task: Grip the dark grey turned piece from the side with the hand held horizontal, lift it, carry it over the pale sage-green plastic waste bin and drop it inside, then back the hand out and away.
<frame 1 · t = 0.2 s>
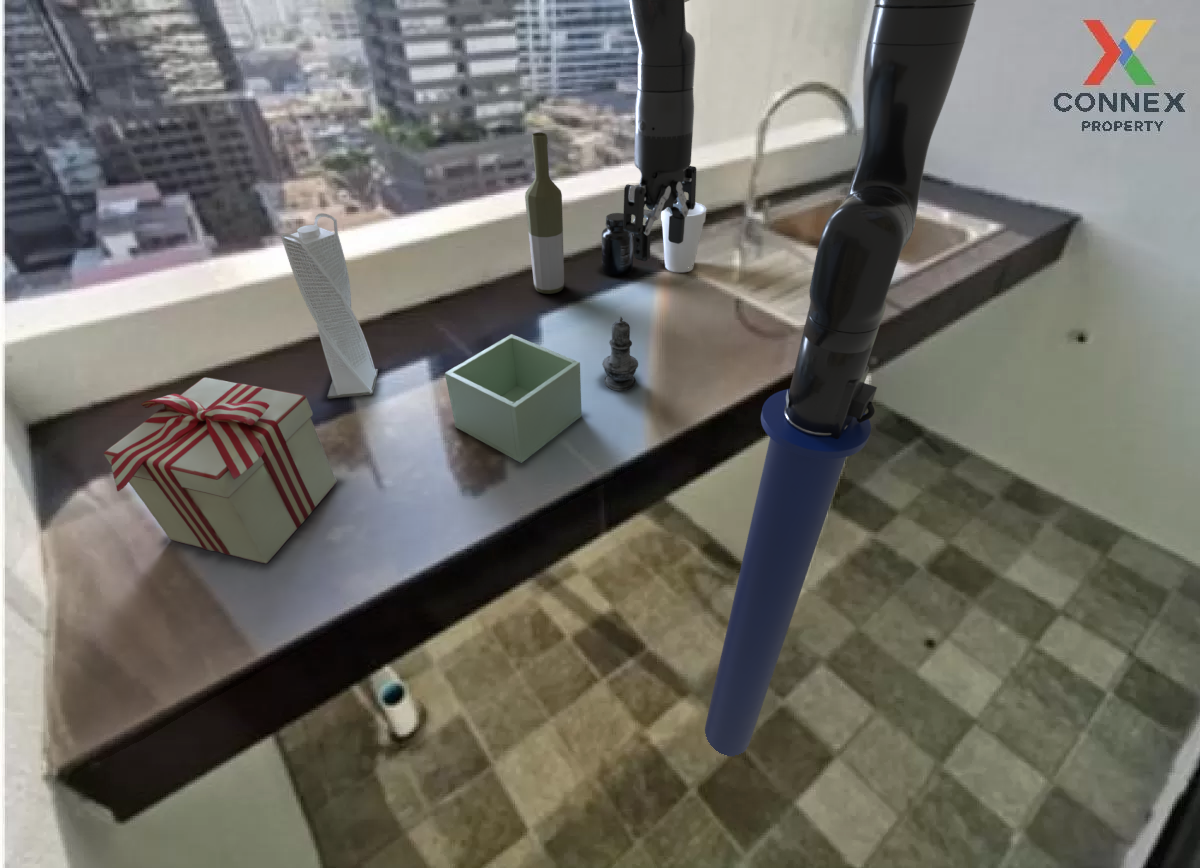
hand: (659, 250, 88), 22 cm above the worktop, tool pointing down, fingers open, 8 cm apart
waste bin: (519, 421, 92), on the worktop
skyscraper: (358, 386, 100), on the worktop
bottle: (549, 290, 127), on the worktop
gift box: (256, 520, 77), on the worktop
foam cup: (679, 267, 136), on the worktop
dark grey turned piece: (619, 382, 100), on the worktop
supplement bottle: (617, 271, 134), on the worktop
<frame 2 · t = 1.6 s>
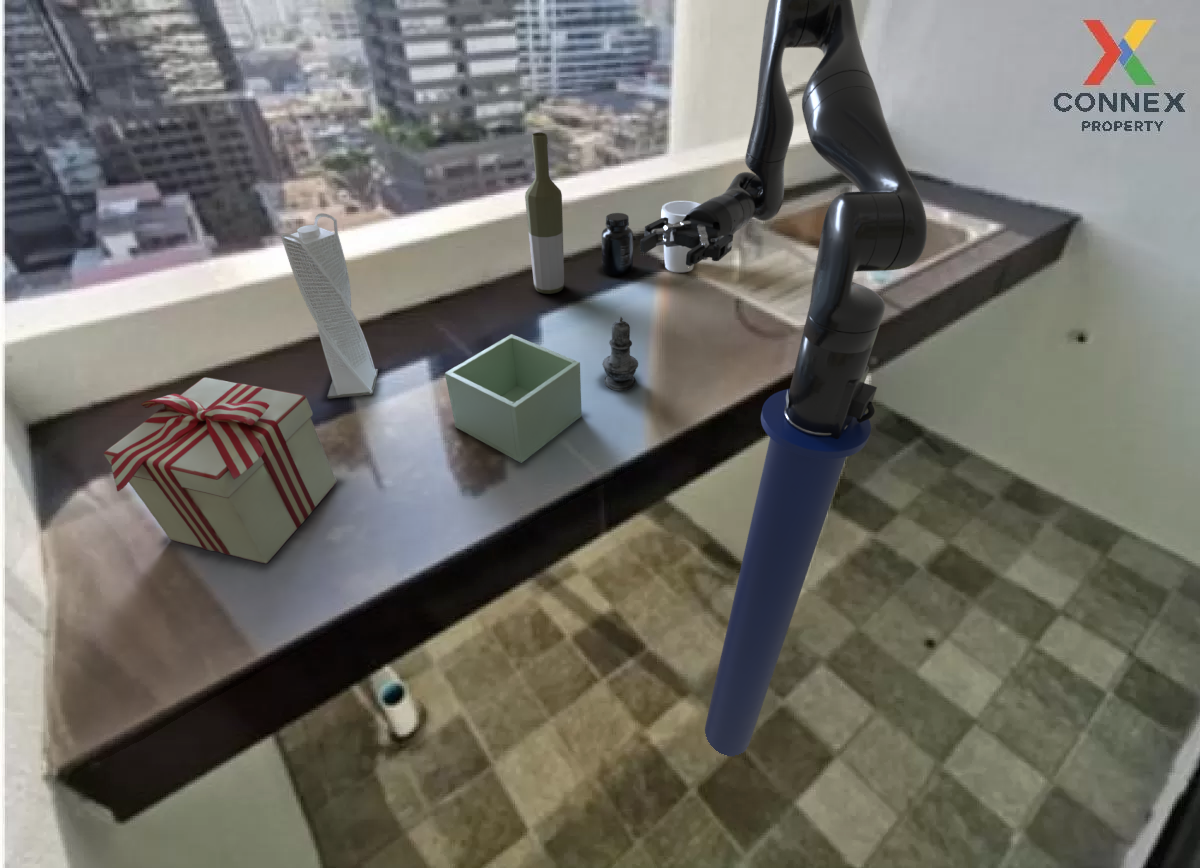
hand: (664, 253, 96), 18 cm above the worktop, tool horizontal, fingers open, 8 cm apart
nothing on the worktop moved.
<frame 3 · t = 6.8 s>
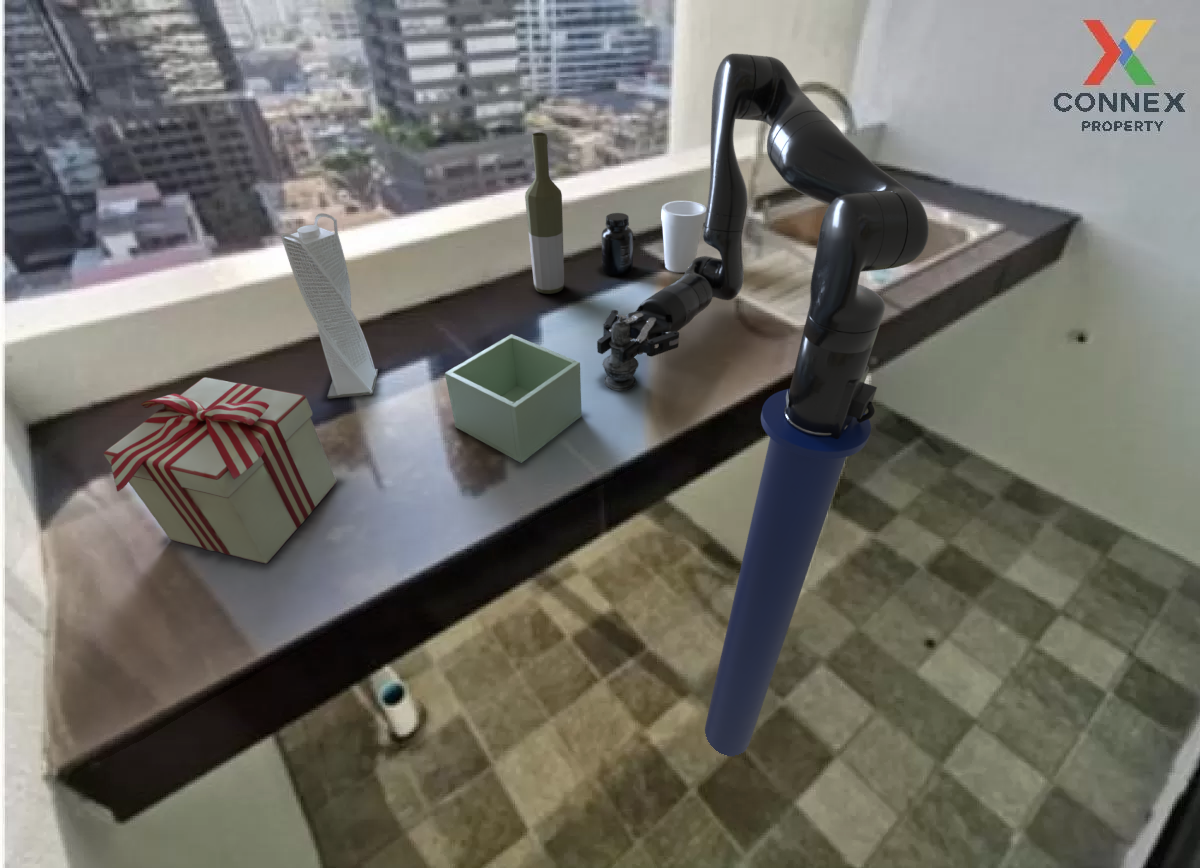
hand: (610, 352, 94), 7 cm above the worktop, tool horizontal, fingers closed on dark grey turned piece, 3 cm apart
dark grey turned piece: (620, 382, 100), on the worktop, touching gripper
everything else where it was.
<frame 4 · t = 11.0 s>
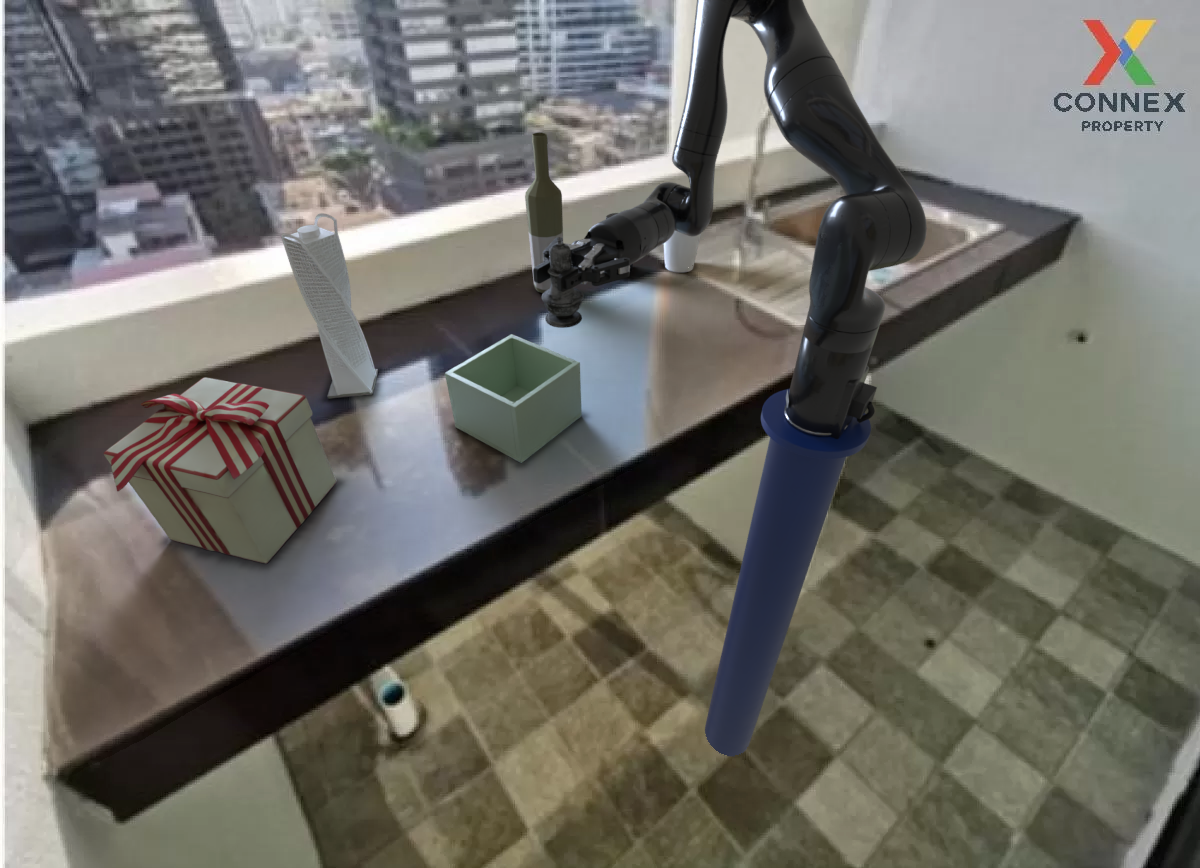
hand: (547, 280, 81), 22 cm above the worktop, tool horizontal, fingers closed on dark grey turned piece, 3 cm apart
dark grey turned piece: (563, 319, 87), point 15 cm above the worktop, touching gripper
everything else where it was.
when the fingers open (11 cm above the worktop, at t = 15.7 s): dark grey turned piece drops 3 cm, resting on waste bin.
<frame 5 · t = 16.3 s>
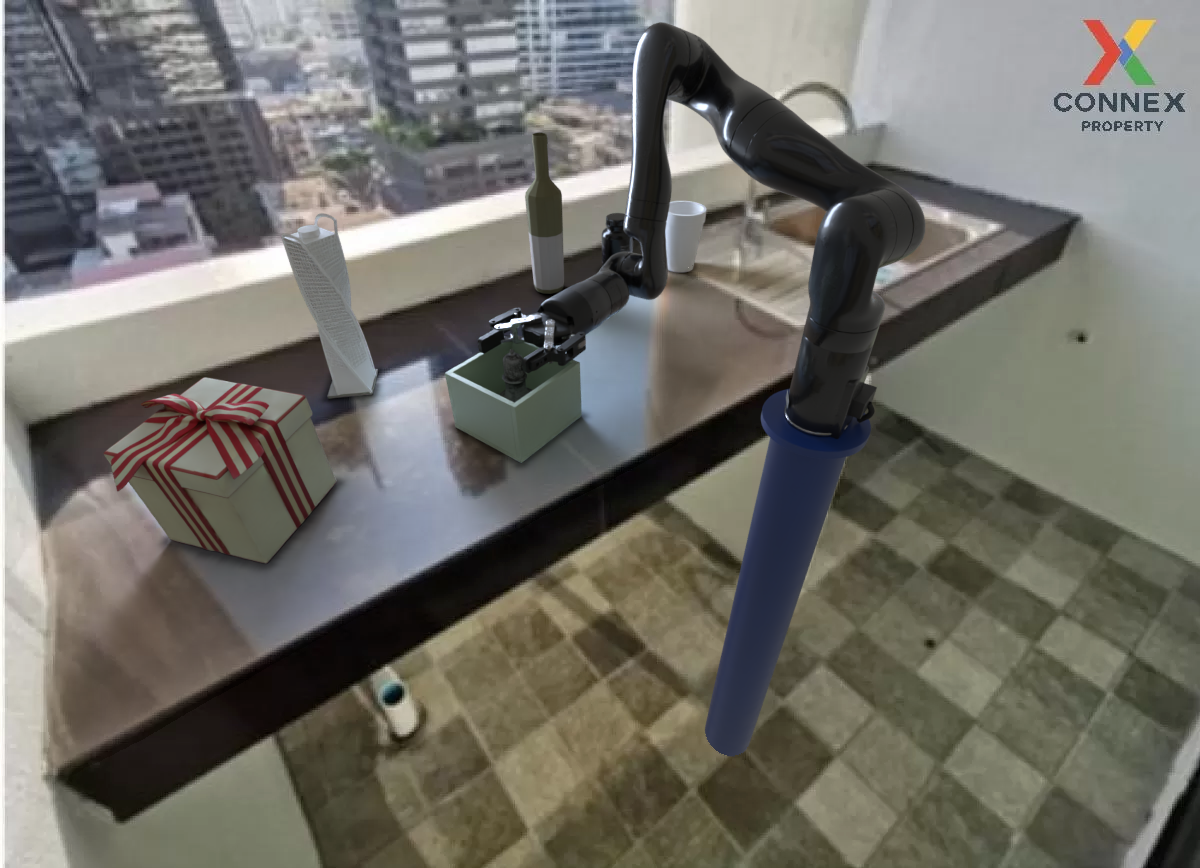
hand: (501, 356, 83), 13 cm above the worktop, tool horizontal, fingers open, 8 cm apart
dark grey turned piece: (519, 417, 92), point 1 cm above the worktop, touching waste bin
everything else where it was.
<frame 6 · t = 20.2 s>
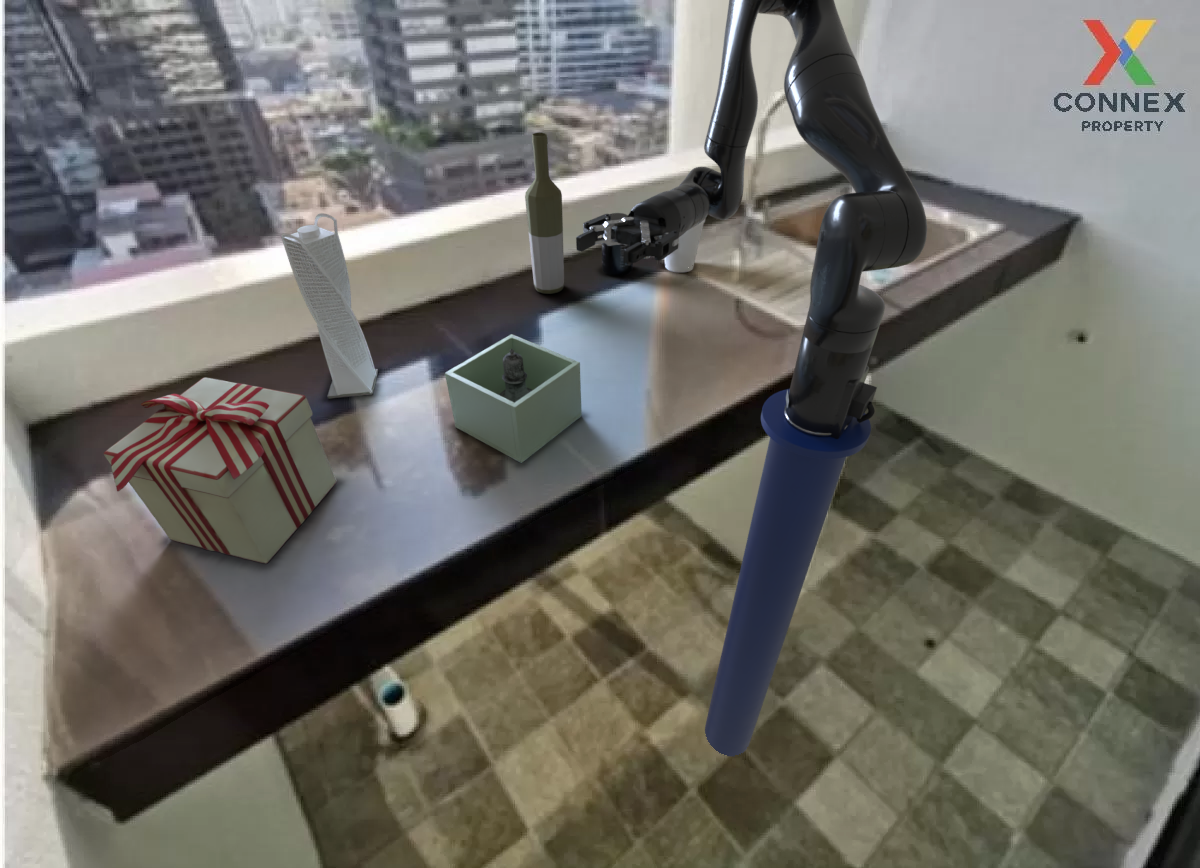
hand: (601, 251, 86), 22 cm above the worktop, tool horizontal, fingers open, 8 cm apart
nothing on the worktop moved.
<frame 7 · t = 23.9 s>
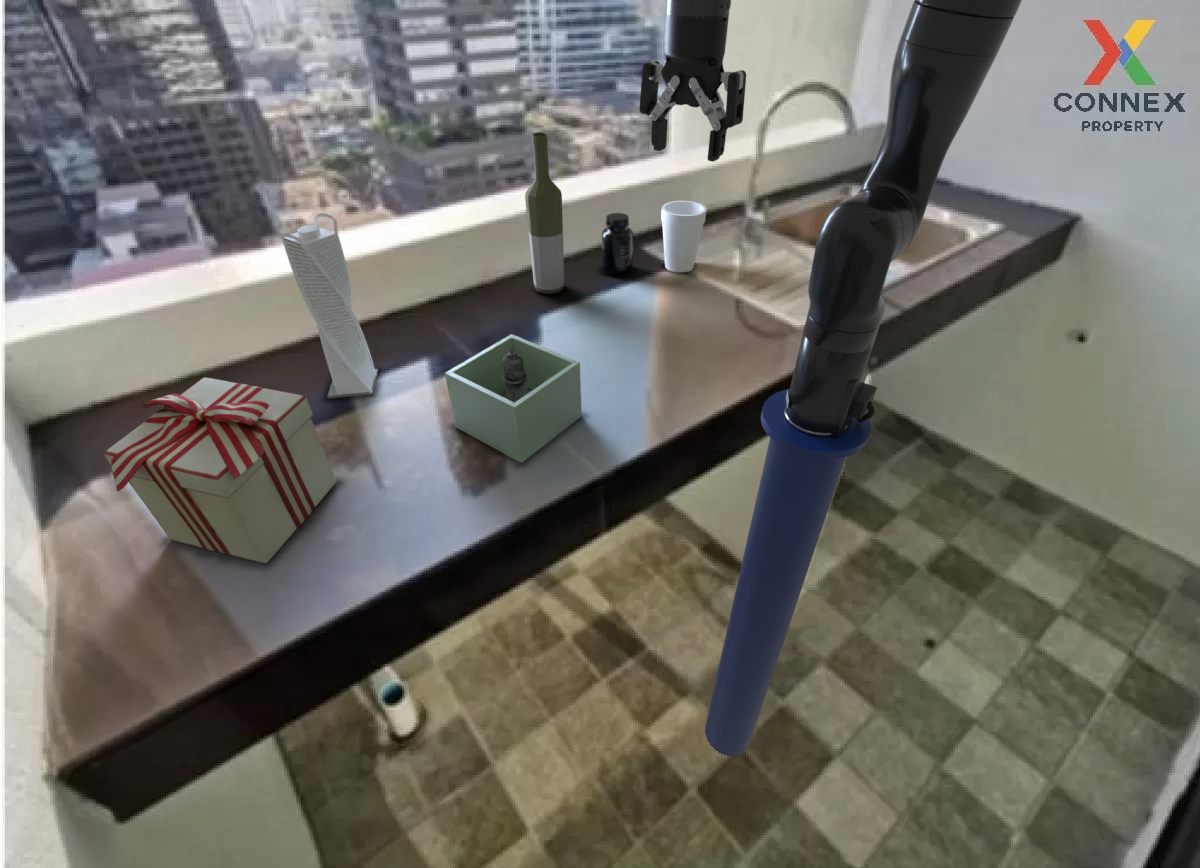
hand: (686, 154, 82), 34 cm above the worktop, tool pointing down, fingers open, 8 cm apart
nothing on the worktop moved.
at the end: dark grey turned piece inside the target area in the waste bin (0.1 cm from its centre), point 0.6 cm above the waste bin's base; the gripper is holding nothing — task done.
